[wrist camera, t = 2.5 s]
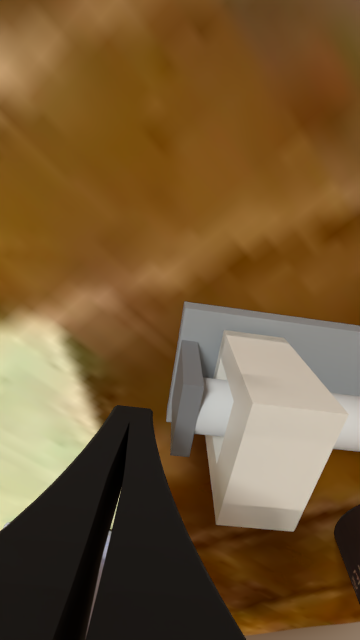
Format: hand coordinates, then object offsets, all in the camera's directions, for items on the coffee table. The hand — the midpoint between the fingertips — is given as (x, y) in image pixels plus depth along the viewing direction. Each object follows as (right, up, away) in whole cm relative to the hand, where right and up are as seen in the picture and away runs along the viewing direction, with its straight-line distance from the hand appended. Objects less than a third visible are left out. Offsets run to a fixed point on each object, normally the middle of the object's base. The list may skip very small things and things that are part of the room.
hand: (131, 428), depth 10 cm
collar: (+5, +1, +4) cm, 6 cm away
